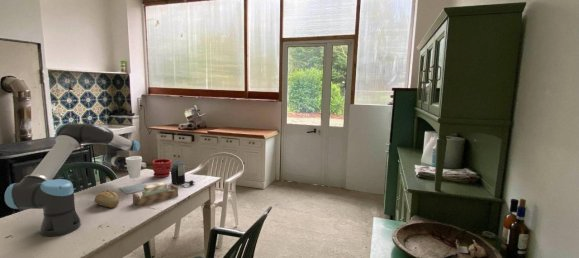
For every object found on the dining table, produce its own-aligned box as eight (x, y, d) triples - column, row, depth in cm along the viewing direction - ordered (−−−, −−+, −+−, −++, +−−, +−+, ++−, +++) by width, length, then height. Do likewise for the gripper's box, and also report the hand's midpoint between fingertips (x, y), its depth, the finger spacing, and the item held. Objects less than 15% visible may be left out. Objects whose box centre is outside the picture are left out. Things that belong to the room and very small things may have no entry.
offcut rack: (137, 206, 164) (137, 196, 163) (132, 203, 169) (132, 193, 168) (178, 196, 182) (177, 186, 181) (172, 192, 187) (172, 184, 186)
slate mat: (127, 194, 182) (127, 193, 182) (118, 188, 192) (118, 187, 192) (151, 188, 193) (151, 188, 193) (142, 183, 203) (142, 182, 203)
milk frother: (172, 181, 210) (171, 161, 207) (195, 179, 214) (194, 160, 212) (170, 187, 196) (169, 166, 194) (194, 186, 200) (194, 165, 198)
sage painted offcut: (145, 197, 169) (145, 193, 168) (142, 195, 172) (142, 191, 171) (168, 191, 179) (168, 187, 179) (165, 189, 182) (165, 185, 181)
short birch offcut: (147, 192, 169) (146, 188, 169) (144, 190, 172) (143, 186, 172) (167, 187, 178) (166, 183, 177) (163, 185, 181) (163, 182, 180)
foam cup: (141, 178, 190) (140, 159, 188) (126, 179, 186) (124, 160, 184) (143, 174, 198) (142, 155, 196) (128, 175, 195) (126, 156, 193)
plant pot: (156, 179, 212) (155, 163, 210) (150, 175, 222) (149, 160, 220) (174, 176, 221) (173, 161, 219) (168, 172, 230) (167, 157, 229)
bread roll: (105, 200, 173) (104, 187, 172) (124, 204, 168) (123, 190, 167) (89, 206, 164) (88, 192, 163) (109, 210, 159) (108, 196, 158)
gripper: (135, 163, 210) (154, 168, 199) (103, 170, 192) (121, 176, 180) (135, 153, 209) (153, 158, 197) (102, 159, 191) (120, 165, 179)
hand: (138, 167), depth 189 cm, fingers closed on foam cup, 9 cm apart
